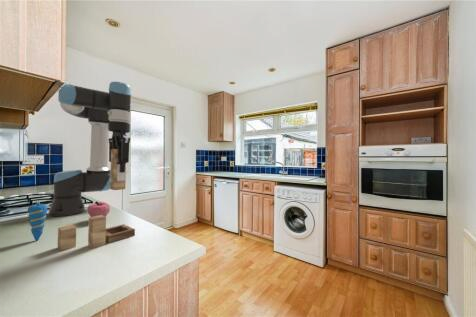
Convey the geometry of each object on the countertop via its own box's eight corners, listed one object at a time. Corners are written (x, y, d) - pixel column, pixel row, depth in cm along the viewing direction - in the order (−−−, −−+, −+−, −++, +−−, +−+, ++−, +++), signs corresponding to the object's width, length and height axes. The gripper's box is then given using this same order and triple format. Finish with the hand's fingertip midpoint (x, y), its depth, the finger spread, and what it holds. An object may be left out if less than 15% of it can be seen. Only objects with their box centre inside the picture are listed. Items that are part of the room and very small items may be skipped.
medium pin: (88, 245, 71) (88, 217, 71) (100, 241, 74) (101, 215, 74) (92, 248, 69) (93, 219, 69) (105, 244, 72) (106, 217, 72)
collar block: (98, 236, 79) (98, 230, 79) (123, 230, 86) (123, 224, 86) (108, 243, 73) (109, 236, 73) (134, 235, 81) (134, 229, 81)
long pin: (110, 189, 79) (111, 149, 79) (120, 188, 83) (121, 149, 83) (114, 190, 77) (115, 149, 77) (125, 189, 80) (126, 149, 80)
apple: (110, 221, 98) (111, 200, 98) (89, 225, 92) (89, 203, 92) (106, 216, 104) (106, 197, 104) (85, 220, 98) (86, 200, 98)
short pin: (57, 247, 69) (58, 227, 69) (72, 243, 72) (72, 224, 72) (60, 250, 67) (61, 230, 67) (75, 246, 70) (76, 226, 70)
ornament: (24, 244, 70) (25, 202, 70) (29, 239, 75) (30, 199, 75) (44, 241, 73) (45, 201, 73) (48, 236, 78) (49, 198, 78)
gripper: (100, 122, 82) (98, 179, 82) (119, 118, 72) (117, 183, 72) (119, 125, 88) (118, 177, 88) (139, 121, 78) (138, 181, 78)
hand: (118, 180), depth 80 cm, fingers closed on long pin, 4 cm apart
